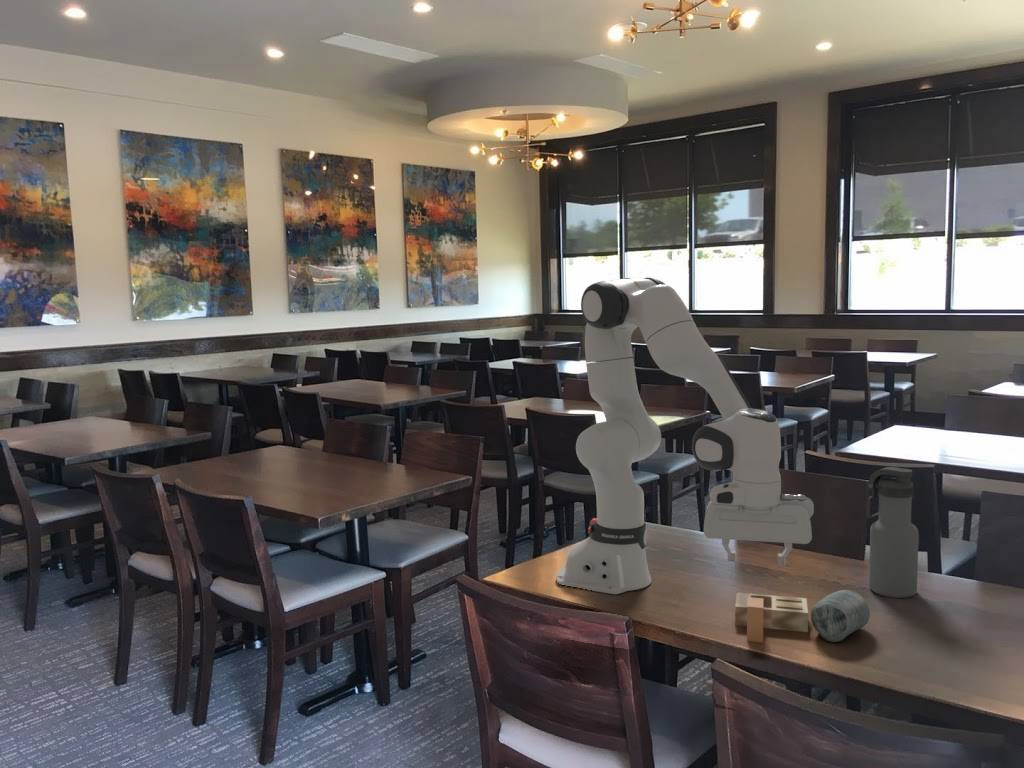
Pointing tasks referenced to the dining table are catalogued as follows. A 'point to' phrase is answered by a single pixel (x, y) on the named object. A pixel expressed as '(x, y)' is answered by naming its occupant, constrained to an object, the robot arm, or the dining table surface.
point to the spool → (839, 615)
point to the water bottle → (893, 535)
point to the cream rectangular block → (775, 612)
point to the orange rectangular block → (755, 619)
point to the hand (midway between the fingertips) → (756, 562)
